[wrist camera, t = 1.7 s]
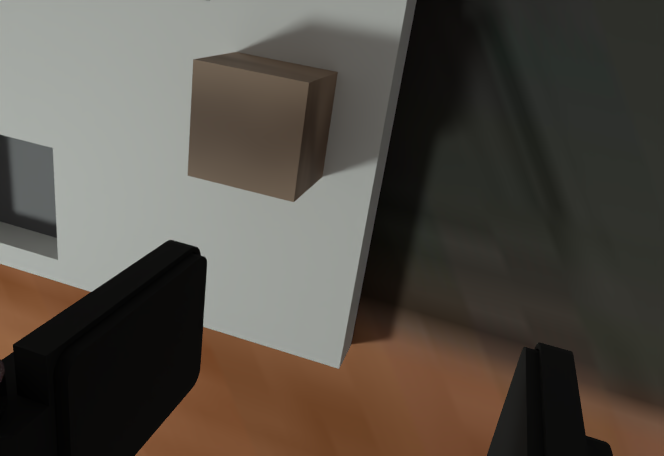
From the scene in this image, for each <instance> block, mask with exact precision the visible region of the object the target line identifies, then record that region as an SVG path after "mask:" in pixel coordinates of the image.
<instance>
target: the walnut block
mask: <svg viewBox="0 0 664 456" xmlns="http://www.w3.org/2000/svg"><path fill="white" fill-rule="evenodd" d="M337 75H338V72H336V71H331V70H325V69H320V68H315V67H310V66H305V65H300V64H295V63H290V62H285V61H280V60H275V59H270V58H264V57H259V56H254V55H249V54H244V53H239V52H233V53H227V54H221V55H215V56H209V57H204V58H198V59H193V74H192V94H191V115H190V135H189V155H188V176H191V177H195V178H199V179H203V180H207V181H211V182H215V183H219V184H223V185H227V186H231V187H235V188H239V189H243V190H247V191H251V192H255V193H259V194H263V195H267V196H271V197H275V198H279V199H283V200H287V201H291V202H295V201H296V200H297V199H298V198H299V197H300V196H301V195H303V194H304V193H305V192H306V191H307V190H308V189H309V188H310V187H312V186H313V185H314V184H315V183H316V182H317V181H318V180H320V179H321V178H322V177H323V170H324V163H325V156H326V150H327V143H328V136H329V129H330V122H331V115H332V109H333V102H334V95H335V88H336V81H337Z"/></svg>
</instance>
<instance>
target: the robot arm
mask: <svg viewBox="0 0 664 456" xmlns="http://www.w3.org/2000/svg"><path fill="white" fill-rule="evenodd" d="M206 275H207V259H206V258H205V257H204V256H201V253H200V249H199V248H198V247H196V246H192V245H188V244H185V243H181V242H178V241H174V240H168V241H166V242H165V243H163V244H162V245H160V246H159V247H157V248H156V249H154V250H153V251H151V252H150V253H148V254H147V255H145V256H144V257H142V258H141V259H140V260H138V261H137V262H135V263H134V264H132V265H131V266H129V267H128V268H126V269H125V270H123V271H122V272H120V273H119V274H117V275H116V276H114V277H113V278H111V279H110V280H108V281H107V282H105V283H104V284H102V285H101V286H99V287H98V288H96V289H95V290H94V291H92V292H91V293H89V294H88V295H86V296H85V297H83V298H82V299H80V300H79V301H77V302H76V303H74V304H73V305H71V306H70V307H68V308H67V309H65V310H64V311H62V312H61V313H59V314H58V315H56V316H55V317H53V318H52V319H50V320H49V321H48V322H46V323H45V324H43V325H42V326H40V327H39V328H37V329H36V330H34V331H33V332H31V333H30V334H28V335H27V336H25V337H24V338H22V339H21V340H19V341H18V342H16V343H15V344H13V351H14V352H13V353H11V354H10V355H8V356H7V357H5V358H4V359H2V360H0V456H135V455H136V453H137V452H138V451H139V450H140V449H141V448H142V446H143V445H144V444H145V443H146V442H147V441H148V439H149V438H150V437H151V436H152V435H153V433H154V432H155V431H156V430H157V429H158V428H159V426H160V425H161V424H162V423H163V422H164V421H165V419H166V418H167V417H168V416H169V415H170V413H171V412H172V411H173V410H174V409H175V408H176V406H177V405H178V404H179V403H180V402H181V401H182V399H183V398H184V397H185V396H186V395H187V394H188V392H189V391H190V390H191V389H192V388H193V386H194V385H195V383H196V381H197V378H198V376H199V372H200V363H201V349H202V334H203V319H204V304H205V290H206ZM487 456H613V454H612V450H611V448H610V445H609V444H608V443H607V442H604V441H601V440H598V439H595V438H591V437H588V436H586V435H585V429H584V422H583V415H582V409H581V402H580V396H579V389H578V383H577V376H576V369H575V363H574V356H573V353H572V352H571V351H568V350H565V349H561V348H557V347H554V346H550V345H547V344H543V343H538V344H537V345H536V347H535V349H530V348H527V347H524V348H523V350H522V352H521V355H520V358H519V361H518V364H517V367H516V370H515V373H514V376H513V379H512V382H511V385H510V388H509V391H508V394H507V397H506V400H505V403H504V406H503V409H502V412H501V415H500V418H499V421H498V424H497V427H496V430H495V433H494V436H493V439H492V442H491V445H490V448H489V451H488V454H487Z"/></svg>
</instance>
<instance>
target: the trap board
mask: <svg viewBox="0 0 664 456" xmlns="http://www.w3.org/2000/svg"><path fill="white" fill-rule="evenodd" d="M416 1H417V0H0V264H3V265H6V266H10V267H13V268H16V269H19V270H22V271H26V272H29V273H32V274H35V275H39V276H42V277H45V278H48V279H52V280H55V281H58V282H61V283H64V284H68V285H71V286H74V287H77V288H81V289H84V290H87V291H90V292H92V291H94V290H95V289H96V288H98V287H99V286H101V285H102V284H104V283H105V282H107V281H108V280H110V279H111V278H113V277H114V276H116V275H117V274H119V273H120V272H122V271H123V270H125V269H126V268H128V267H129V266H131V265H132V264H134V263H135V262H137V261H138V260H140V259H141V258H142V257H144V256H145V255H147V254H148V253H150V252H151V251H153V250H154V249H156V248H157V247H159V246H160V245H162V244H163V243H165V242H166V241H168V240H174V241H178V242H181V243H185V244H188V245H192V246H196V247H198V248H199V249H200V253H201V256H204V257H205V258H206V259H207V275H206V290H205V304H204V319H203V327H206V328H209V329H213V330H216V331H219V332H222V333H226V334H229V335H232V336H235V337H238V338H242V339H245V340H248V341H251V342H255V343H258V344H261V345H264V346H267V347H271V348H274V349H277V350H280V351H284V352H287V353H290V354H293V355H296V356H300V357H303V358H306V359H309V360H313V361H316V362H319V363H322V364H325V365H329V366H332V367H335V368H338V369H339V368H340V366H341V364H342V362H343V360H344V358H345V356H346V354H347V352H348V350H349V348H350V346H351V342H352V337H353V332H354V326H355V321H356V316H357V311H358V305H359V300H360V295H361V290H362V284H363V279H364V274H365V269H366V263H367V258H368V253H369V248H370V242H371V237H372V232H373V227H374V221H375V216H376V211H377V206H378V200H379V195H380V190H381V185H382V179H383V174H384V169H385V164H386V158H387V153H388V148H389V143H390V137H391V132H392V127H393V122H394V116H395V111H396V106H397V101H398V95H399V90H400V85H401V80H402V74H403V69H404V64H405V59H406V53H407V48H408V43H409V38H410V32H411V27H412V22H413V17H414V11H415V6H416ZM233 52H239V53H244V54H249V55H254V56H259V57H264V58H270V59H275V60H280V61H285V62H290V63H295V64H300V65H305V66H310V67H315V68H320V69H325V70H331V71H336V72H338V75H337V81H336V88H335V95H334V102H333V109H332V115H331V122H330V129H329V136H328V143H327V150H326V156H325V163H324V170H323V177H322V178H321V179H320V180H318V181H317V182H316V183H315V184H314V185H313V186H312V187H310V188H309V189H308V190H307V191H306V192H305V193H304V194H303V195H301V196H300V197H299V198H298V199H297V200H296V201H295V202H291V201H287V200H283V199H279V198H275V197H271V196H267V195H263V194H259V193H255V192H251V191H247V190H243V189H239V188H235V187H231V186H227V185H223V184H219V183H215V182H211V181H207V180H203V179H199V178H195V177H191V176H188V155H189V135H190V115H191V94H192V74H193V59H198V58H204V57H209V56H215V55H221V54H227V53H233Z"/></svg>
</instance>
